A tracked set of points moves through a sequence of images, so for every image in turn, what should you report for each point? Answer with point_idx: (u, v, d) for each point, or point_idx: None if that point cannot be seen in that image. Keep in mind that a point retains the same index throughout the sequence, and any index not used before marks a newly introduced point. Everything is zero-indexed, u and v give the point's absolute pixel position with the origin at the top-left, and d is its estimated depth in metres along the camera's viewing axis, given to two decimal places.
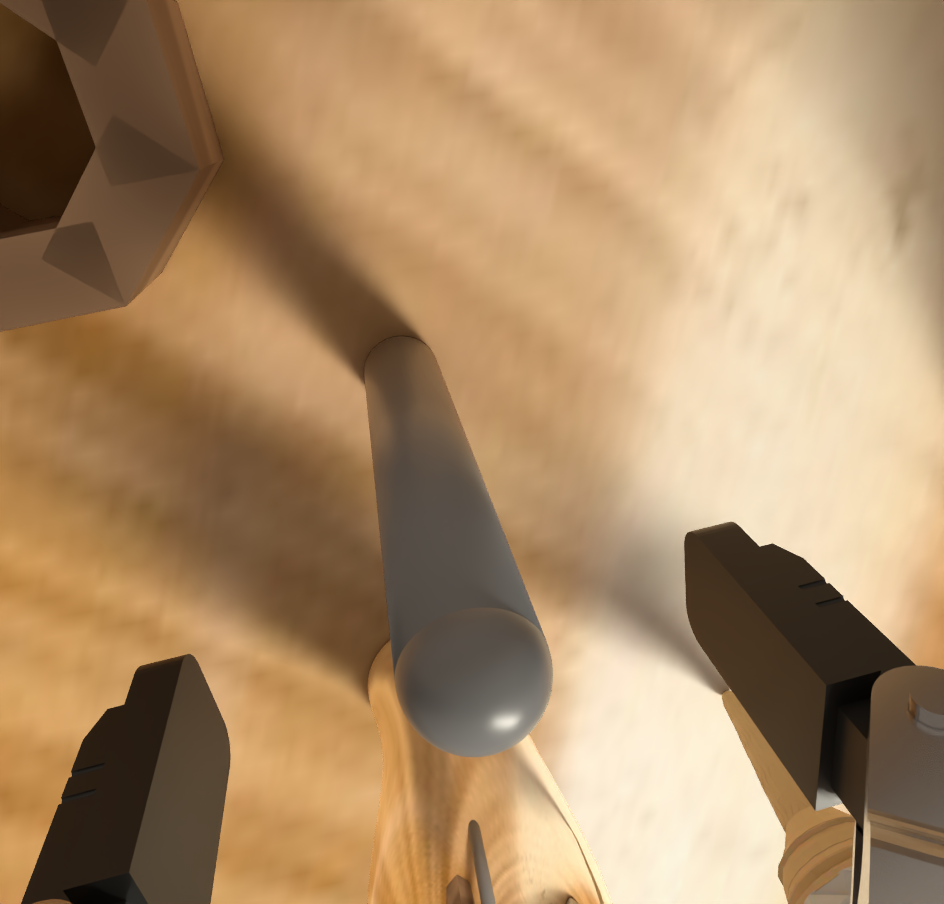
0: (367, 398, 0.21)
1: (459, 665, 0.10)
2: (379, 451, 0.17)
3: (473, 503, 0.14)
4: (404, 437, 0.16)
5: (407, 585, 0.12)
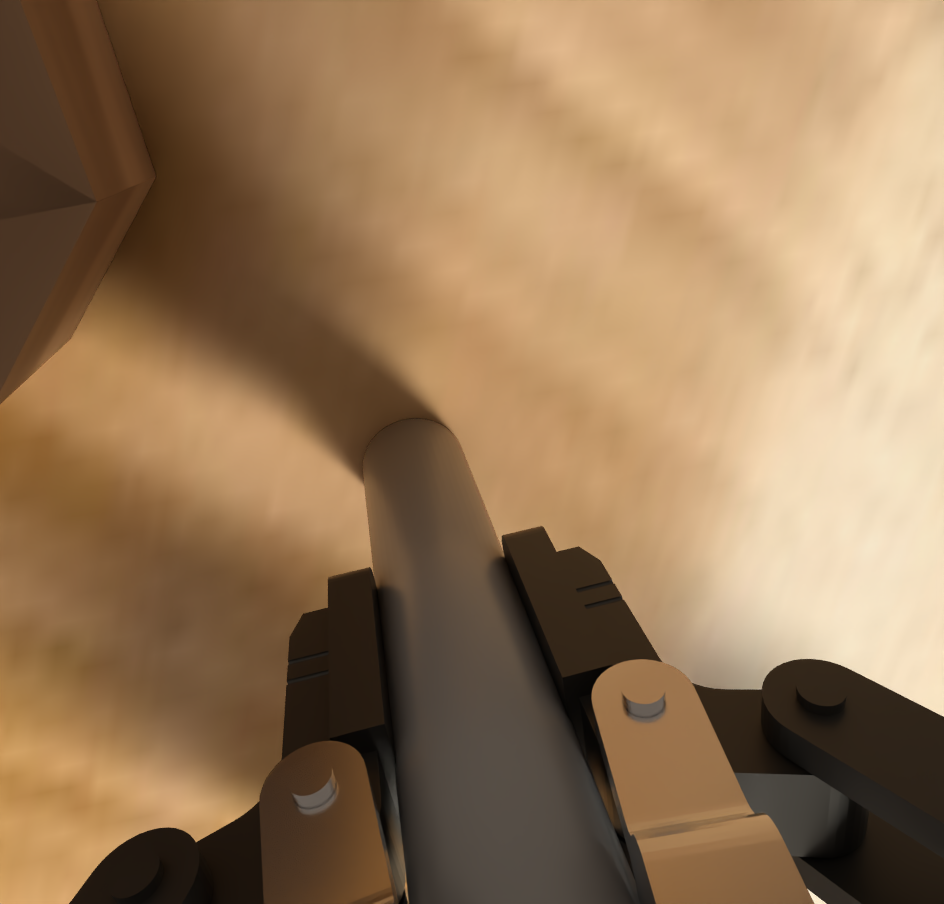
0: (369, 521, 0.14)
1: None
2: (395, 656, 0.10)
3: (583, 843, 0.07)
4: (436, 643, 0.10)
5: None
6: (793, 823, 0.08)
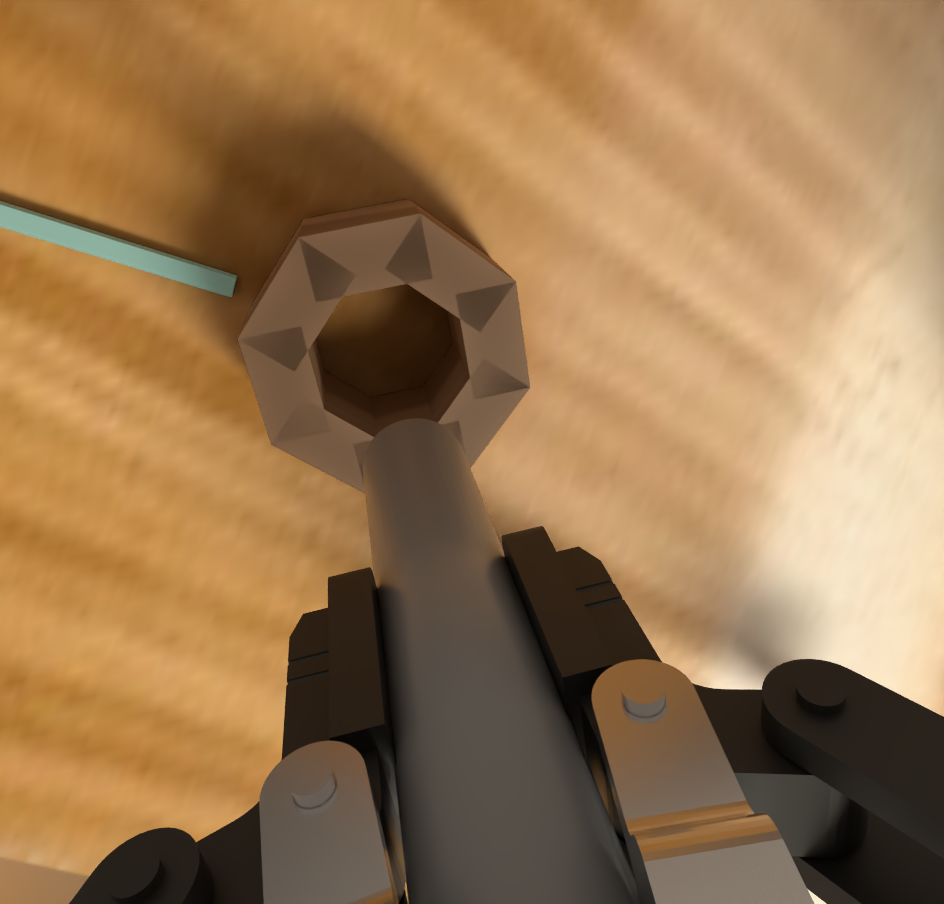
0: (369, 521, 0.14)
1: None
2: (395, 656, 0.10)
3: (585, 845, 0.07)
4: (437, 643, 0.10)
5: None
6: (793, 823, 0.08)
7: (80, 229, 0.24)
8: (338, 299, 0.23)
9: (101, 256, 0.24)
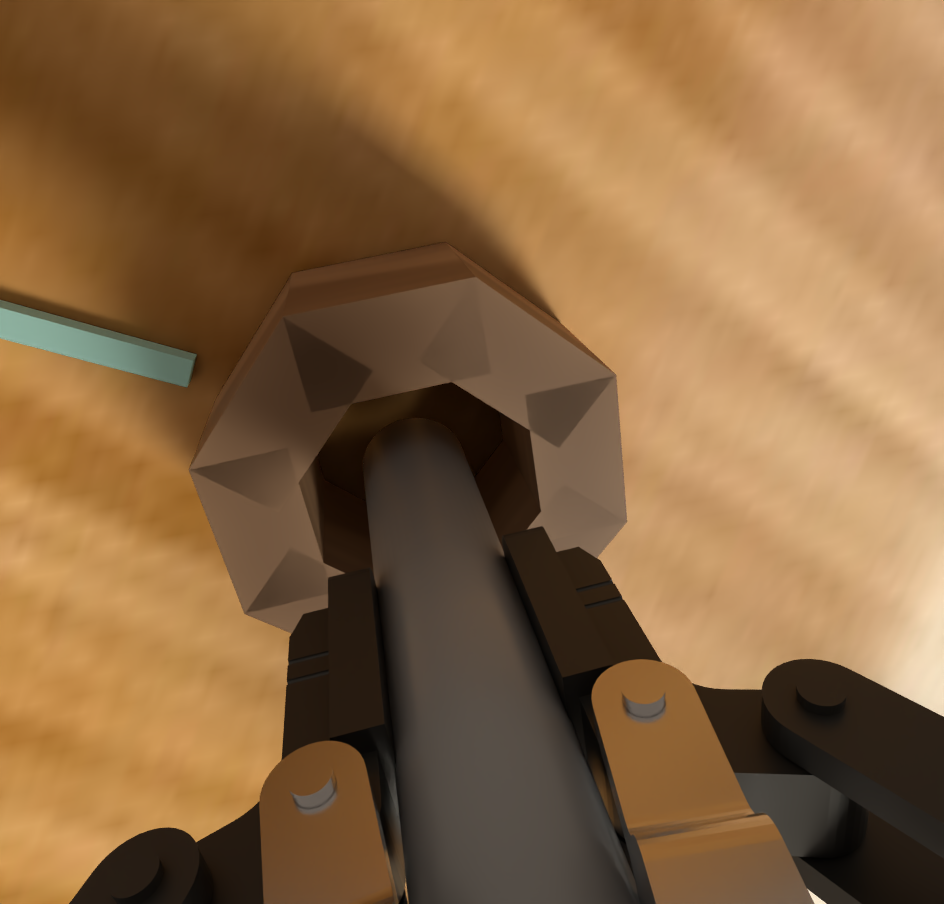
0: (369, 520, 0.14)
1: None
2: (395, 655, 0.10)
3: (583, 843, 0.07)
4: (436, 642, 0.10)
5: None
6: (793, 823, 0.08)
7: None
8: (345, 407, 0.15)
9: None
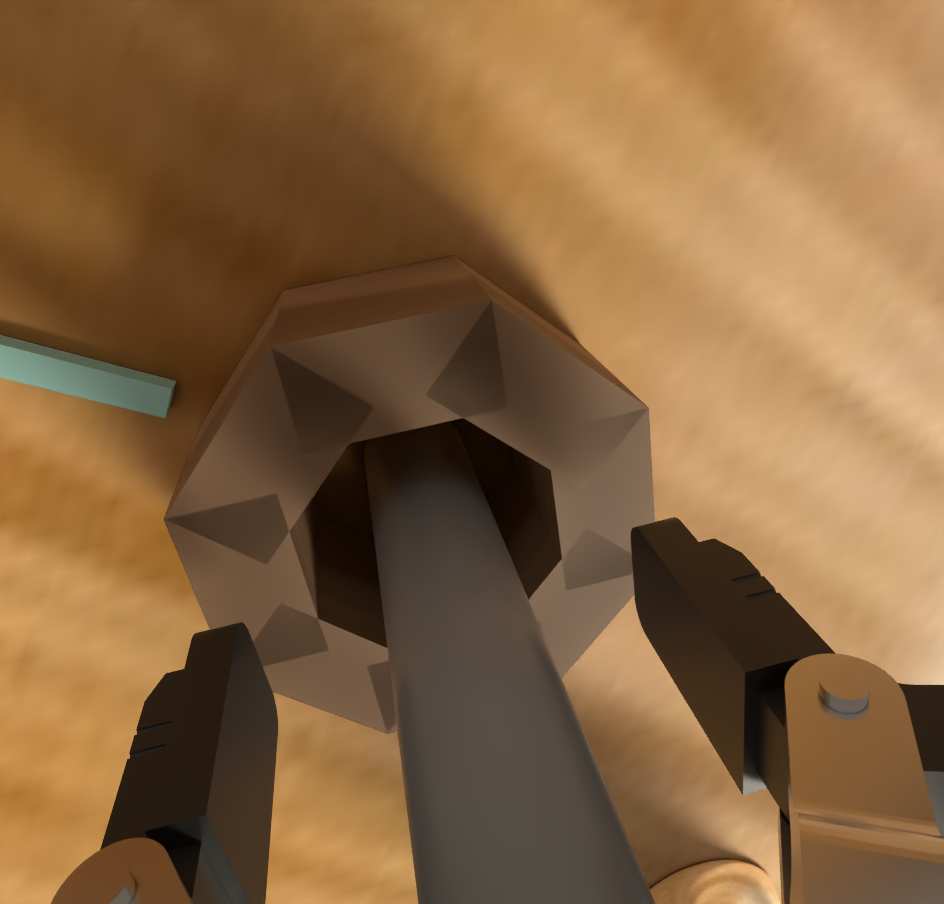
0: (372, 507, 0.15)
1: None
2: (398, 631, 0.11)
3: (578, 796, 0.08)
4: (438, 617, 0.10)
5: None
6: None
7: None
8: (342, 447, 0.13)
9: None
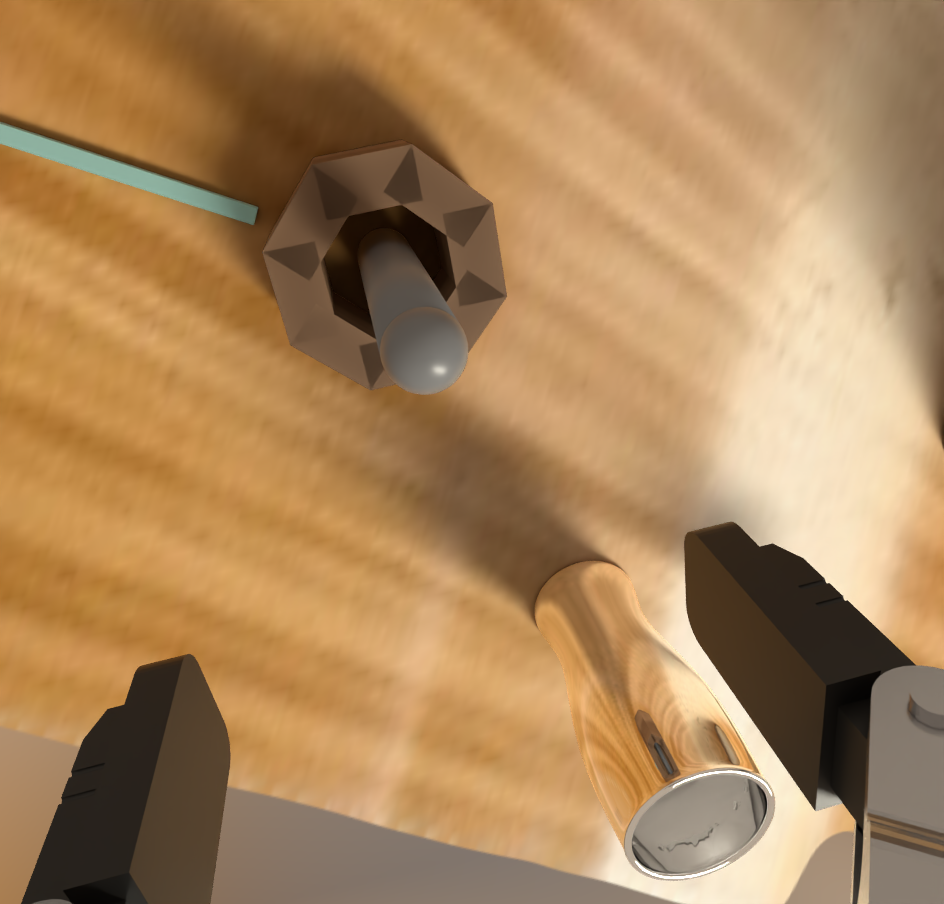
0: (360, 264, 0.29)
1: (414, 328, 0.19)
2: (369, 277, 0.25)
3: (426, 284, 0.22)
4: (385, 264, 0.25)
5: (387, 310, 0.20)
6: None
7: (128, 165, 0.28)
8: (345, 218, 0.27)
9: (145, 189, 0.29)
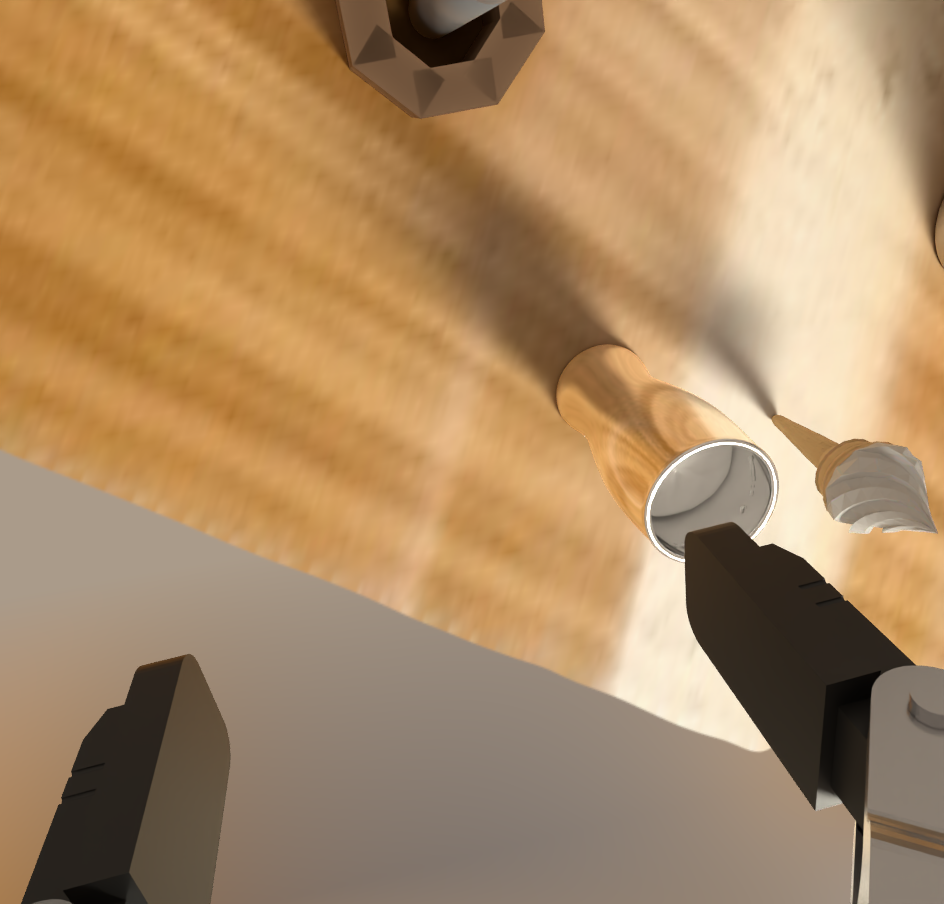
0: None
1: None
2: None
3: None
4: None
5: None
6: None
7: None
8: None
9: None
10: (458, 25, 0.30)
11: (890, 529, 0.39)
